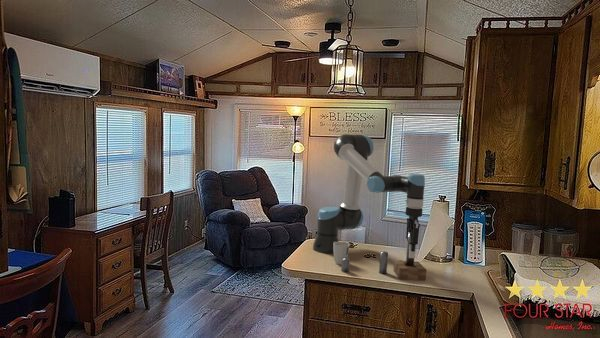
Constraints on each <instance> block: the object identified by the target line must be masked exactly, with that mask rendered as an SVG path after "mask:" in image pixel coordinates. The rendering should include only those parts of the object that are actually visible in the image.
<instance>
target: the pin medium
mask: <svg viewBox="0 0 600 338" xmlns="http://www.w3.org/2000/svg"><path fill="white" fill-rule="evenodd" d="M379 253H380V254H379V255H380V256H379V267H378V269H379V270H378V272H379V273H378V274H381V275H387V273H388V272H387V271H388V262H389V261H388V260H389V252H388V251H380V252H379Z"/></svg>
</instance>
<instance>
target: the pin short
mask: <svg viewBox="0 0 600 338" xmlns="http://www.w3.org/2000/svg"><path fill="white" fill-rule="evenodd" d="M350 260H351V259H350V258H349V257H348V258H342V265H341V270H340V271H341V272H342V273H350V265H351V264H350Z"/></svg>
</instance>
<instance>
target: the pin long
mask: <svg viewBox="0 0 600 338" xmlns="http://www.w3.org/2000/svg"><path fill="white" fill-rule="evenodd" d="M409 243H411V232H408V243H407V242H406V252H407V255H406V258H405V259H406V260H405V261H406V264H407V265H414V262H415V258H409V247H410V244H409Z"/></svg>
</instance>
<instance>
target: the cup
mask: <svg viewBox="0 0 600 338" xmlns="http://www.w3.org/2000/svg"><path fill="white" fill-rule="evenodd" d="M333 252H334V253H333V260H334V264H336V265H340V266H342V258H349V252H350V243H349V242H346V241H339V242H334V243H333Z"/></svg>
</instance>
